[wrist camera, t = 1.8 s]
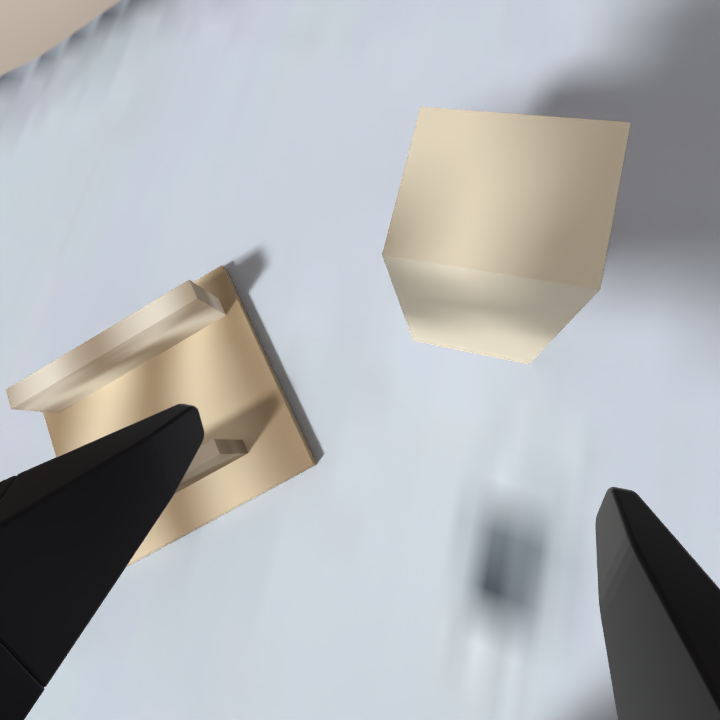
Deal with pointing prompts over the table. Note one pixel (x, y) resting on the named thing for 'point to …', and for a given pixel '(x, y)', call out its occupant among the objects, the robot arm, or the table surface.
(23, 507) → the robot arm
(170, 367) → the shelf slot
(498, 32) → the table surface
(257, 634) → the table surface
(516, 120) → the boxed book
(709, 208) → the table surface
